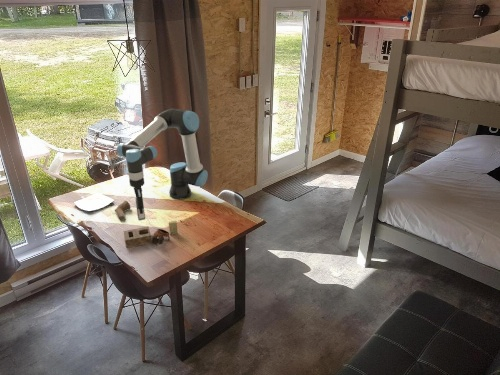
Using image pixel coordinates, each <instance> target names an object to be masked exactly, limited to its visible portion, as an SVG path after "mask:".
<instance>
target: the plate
mask: <svg viewBox="0 0 500 375" xmlns="http://www.w3.org/2000/svg"><path fill="white" fill-rule="evenodd" d="M114 202H115V199H113V198H111V197H109V196H106V195H104V194H102V193H100V192H96V193H93V194H92V195H89V196H87V197H85V198H81V199H79V200H77V201H74V202H73V204H74V205H75V206H76V207H77V208H79V209H80V210H82V211H84V212H88V213H92V212H95V211H99V210H101V209H104V208H106V207H108V206H109V205H111V204H112V203H114Z"/></svg>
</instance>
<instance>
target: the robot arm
mask: <svg viewBox="0 0 500 375" xmlns="http://www.w3.org/2000/svg"><path fill="white" fill-rule="evenodd" d="M199 126H200V118H199V115H198V114H197V113H196V112H194V111H191V110H184V109H179V108H178V109H177V108H169V109H166V110H164V111H163V112H160V113H159V114H157V115H156V116H155V117H154V119H153V120H152V121H151V122H150V123H149V124H148V125H146V126H145V127H144V128H143V129H142V130H141V131H139V132H138V133H137V134H136V135H134V136H133V137H132V138H131V139H130V140H129V141H127V142H123V143H122V142H121V143H119V144H117V147H116V153H117V155H118V156H119V157H122V158H125V161H126V165H127V172H128V173H127V176H128V178H129V186H130V187H132V188H133V191H134V196H135V195H136V197H137V202H138V208H137V207H136V210H137V209H138V212H139V219H140V218H144V213H145V206H144V207H143V205H144V199H143V200H142V197H143V188H142V187H143V186H144V185H145V178H144V177H145V175H144V168H143V166H144V165H145V164H147V163H149V162H151V161H153V160H154V159H156V158H157V156H158V150H157V148H156V147H155V146H153V145H147V144H149V143H150V142H151V141H152V140H153V139H155V138H156V137H157V135H159V134H160V133H161V132H162V131H166V130H168V129H170V128H173V129H177V133H178V134H179V135H180V136H181V140H182V145H183V152H184V156H185V161H186V162H185V161H184V162H183V161H182V162H175V163H173V164H171V165H170V167H169V175H170V183H171V185H170V189H169V197H170V198H171V199H175V200H185V199H187V198H189V197H191V195H192V190H191V186H195V187H199V188H200V187H203V186H204V185H205V184H206V182H207V180H208V177H209V174H208V173H209V172H208V171H207V170H206V169H204V167H203V164H202V163H201V162H200V156H199V149H198V144H197V138H196V133H197V131H198V129H199ZM146 145H147V146H146ZM143 208H144V210H143Z"/></svg>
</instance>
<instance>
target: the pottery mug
mask: <svg viewBox="0 0 500 375" xmlns="http://www.w3.org/2000/svg"><path fill="white" fill-rule="evenodd" d="M151 238H152V243H151V244H153V245H154V246H158V245H161V246H162V245H163V242H164V240H165V238H168V241H170V239H171V238H170V231H167V230H165V229H163V228H157V230H156V231H154V233H153V235H152V237H151Z"/></svg>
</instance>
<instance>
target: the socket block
mask: <svg viewBox="0 0 500 375" xmlns="http://www.w3.org/2000/svg"><path fill="white" fill-rule="evenodd" d="M123 236H124V242H125V247H126V249H128V248H133V247H138V246H144V245H148V244H153V243H152V238H153V237H152V234H151V231H150V227H149V226H144V227H139V228H131V229H126V230H123Z"/></svg>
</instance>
